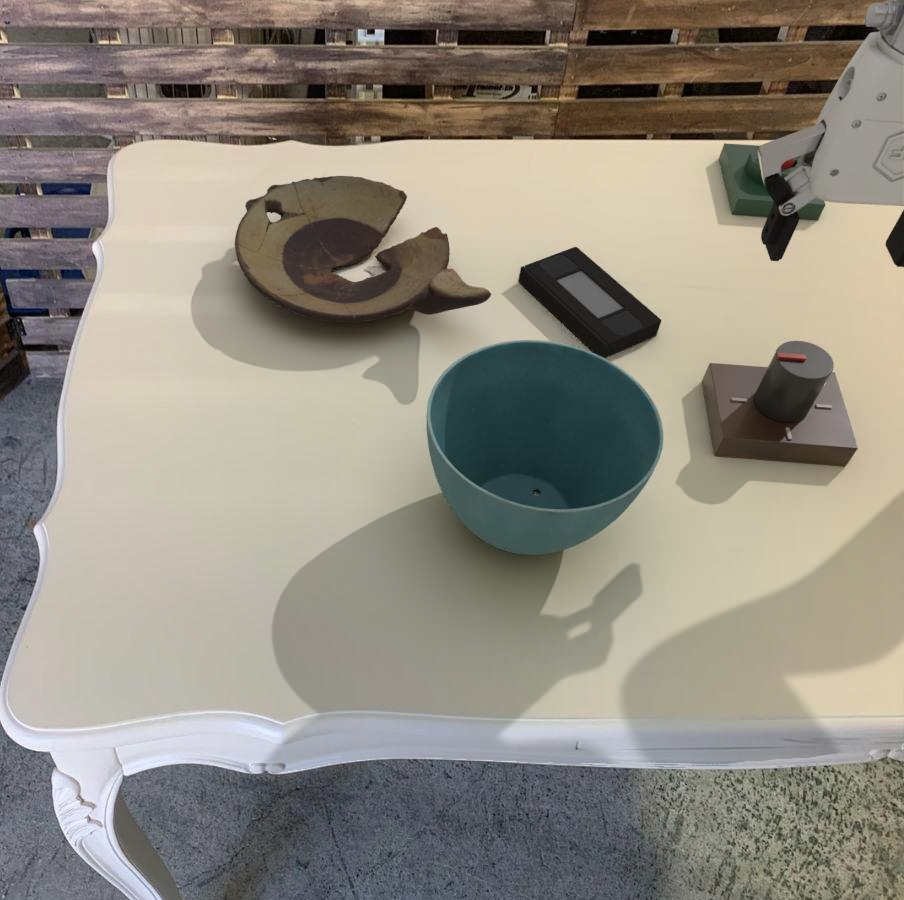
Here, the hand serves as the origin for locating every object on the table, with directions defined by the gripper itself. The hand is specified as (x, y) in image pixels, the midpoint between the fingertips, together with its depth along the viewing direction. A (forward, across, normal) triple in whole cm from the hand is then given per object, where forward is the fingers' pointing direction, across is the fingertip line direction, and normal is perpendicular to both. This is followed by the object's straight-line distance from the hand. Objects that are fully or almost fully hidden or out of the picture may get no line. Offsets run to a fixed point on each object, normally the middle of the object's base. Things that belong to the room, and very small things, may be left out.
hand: (832, 253), depth 71 cm
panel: (+19, +2, 0) cm, 19 cm away
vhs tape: (+19, -14, +16) cm, 28 cm away
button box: (+19, +10, +40) cm, 45 cm away
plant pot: (+19, -22, -13) cm, 32 cm away
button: (+15, +10, +40) cm, 44 cm away
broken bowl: (+19, -39, +17) cm, 47 cm away
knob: (+16, +2, 0) cm, 16 cm away
